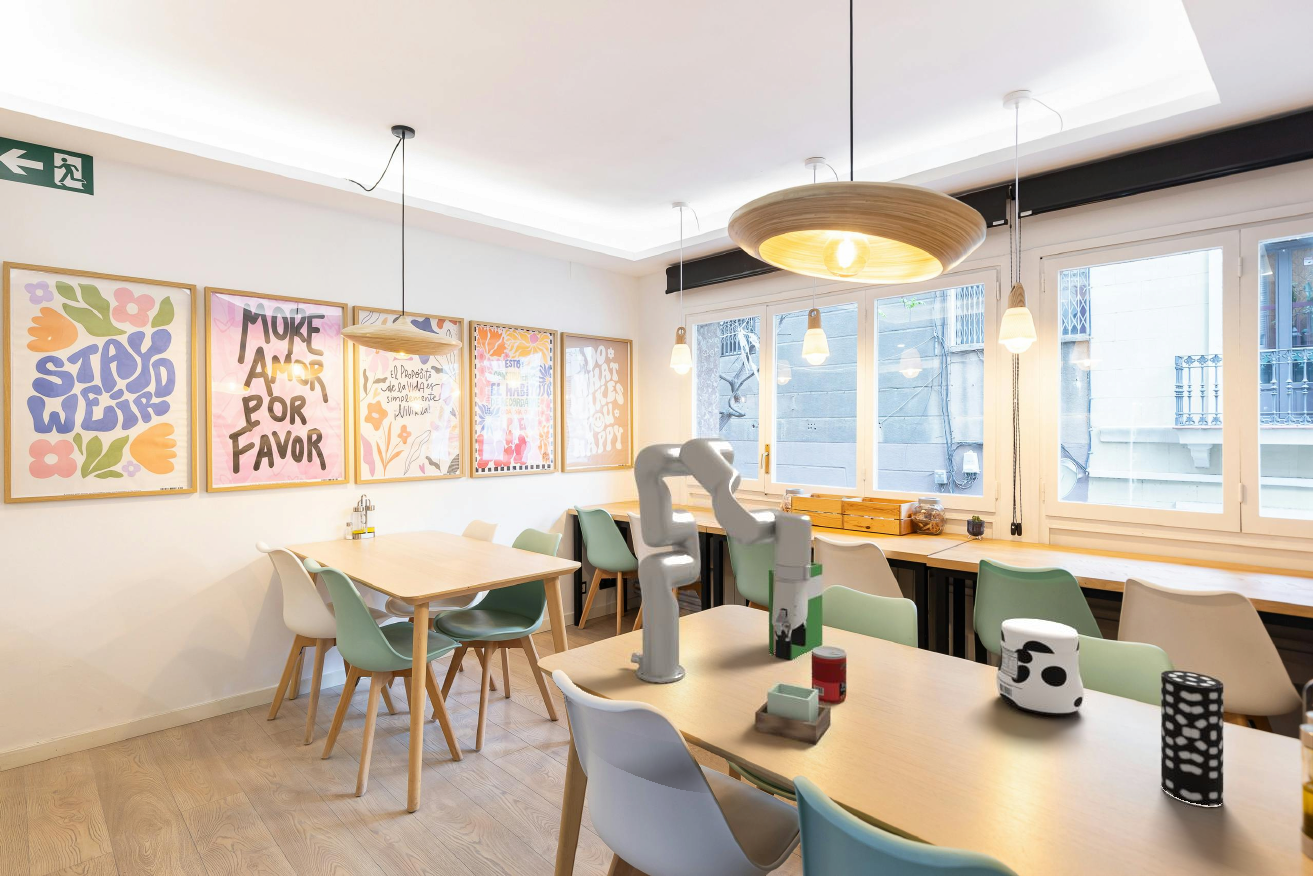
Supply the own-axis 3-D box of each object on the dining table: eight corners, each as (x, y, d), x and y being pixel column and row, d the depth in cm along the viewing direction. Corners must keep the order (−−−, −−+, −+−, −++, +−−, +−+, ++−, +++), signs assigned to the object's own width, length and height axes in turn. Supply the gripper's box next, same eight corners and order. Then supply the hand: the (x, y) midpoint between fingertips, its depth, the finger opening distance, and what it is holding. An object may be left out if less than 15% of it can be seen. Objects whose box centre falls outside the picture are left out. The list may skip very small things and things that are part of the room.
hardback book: (792, 660, 183) (791, 573, 183) (769, 654, 188) (768, 570, 188) (822, 645, 196) (822, 564, 196) (800, 639, 201) (799, 561, 201)
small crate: (767, 725, 140) (767, 692, 140) (778, 713, 146) (778, 682, 146) (809, 734, 136) (808, 700, 136) (818, 722, 141) (818, 690, 141)
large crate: (755, 730, 140) (755, 712, 140) (772, 712, 149) (772, 695, 149) (815, 744, 133) (815, 726, 133) (830, 725, 142) (830, 707, 142)
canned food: (847, 705, 153) (847, 657, 153) (812, 702, 154) (812, 655, 154) (845, 692, 160) (845, 647, 160) (811, 690, 162) (811, 645, 162)
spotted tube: (1149, 783, 118) (1149, 671, 118) (1192, 781, 119) (1192, 669, 119) (1190, 809, 110) (1190, 689, 110) (1236, 807, 110) (1236, 687, 110)
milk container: (1091, 705, 152) (1091, 626, 152) (1074, 729, 140) (1074, 644, 139) (1008, 685, 164) (1008, 613, 164) (986, 707, 151) (986, 628, 151)
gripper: (789, 562, 150) (787, 637, 151) (760, 577, 135) (759, 660, 136) (821, 566, 146) (820, 643, 147) (796, 582, 131) (794, 668, 132)
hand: (790, 651), depth 141 cm, fingers open, 9 cm apart
